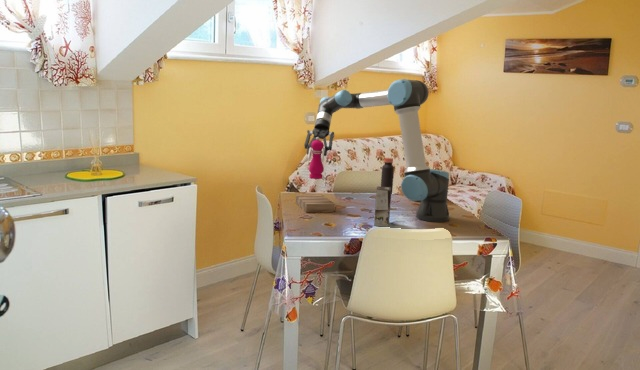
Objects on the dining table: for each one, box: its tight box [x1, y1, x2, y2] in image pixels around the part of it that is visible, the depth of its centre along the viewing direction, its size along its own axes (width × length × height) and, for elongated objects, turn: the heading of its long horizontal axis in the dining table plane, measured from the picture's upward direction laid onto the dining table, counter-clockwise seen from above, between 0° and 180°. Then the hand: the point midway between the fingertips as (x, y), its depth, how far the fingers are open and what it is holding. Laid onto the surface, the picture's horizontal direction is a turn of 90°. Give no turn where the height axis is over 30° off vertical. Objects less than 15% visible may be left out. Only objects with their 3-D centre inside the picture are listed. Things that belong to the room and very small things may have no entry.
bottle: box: [380, 157, 395, 194], centre depth 302 cm, size 7×7×20 cm
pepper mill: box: [308, 137, 325, 180], centre depth 253 cm, size 7×7×20 cm
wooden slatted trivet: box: [295, 194, 336, 213], centre depth 257 cm, size 20×14×4 cm
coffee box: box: [373, 186, 392, 228], centre depth 230 cm, size 9×6×16 cm
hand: (315, 159), depth 250 cm, fingers closed on pepper mill, 6 cm apart
